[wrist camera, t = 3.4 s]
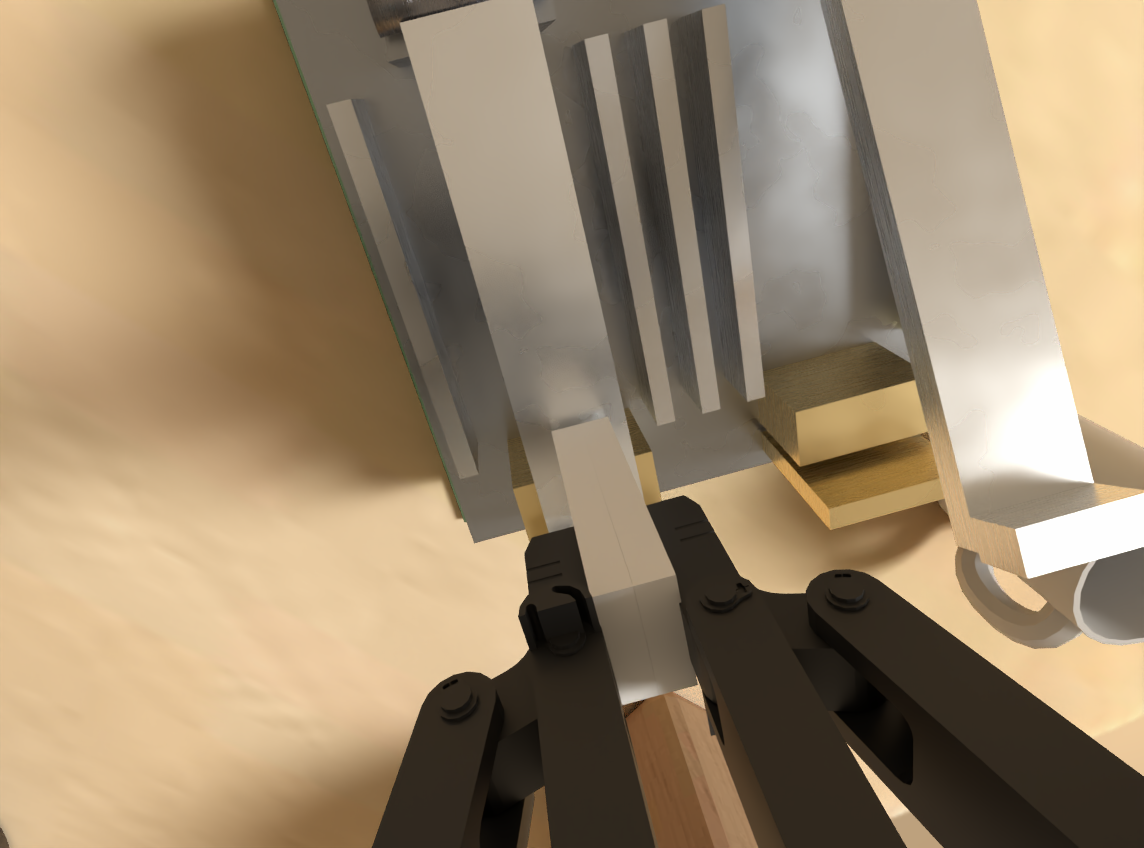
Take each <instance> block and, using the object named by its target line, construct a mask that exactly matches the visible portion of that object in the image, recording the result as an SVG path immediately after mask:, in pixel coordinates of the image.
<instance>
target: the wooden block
mask: <svg viewBox="0 0 1144 848" xmlns="http://www.w3.org/2000/svg"><path fill="white" fill-rule="evenodd" d="M626 722H627V725H628V729H629V733H630V737H631V741H632V745H633V749H634V752H635V756H636V760H637V764H638V768H639V772H640V776H641V780H642V784H643V788H644V792H645V796H646V800H647V804H648V808H649V812H650V816H651V820H652V824H653V828H654V832H655V836H656V840H657V843H658V847H659V848H758V846H757V843H756V840H755V838H754V835H753V832H752V830H751V827H750V824H749V822H748V819H747V817H746V814H745V811H744V809H743V806H742V803H741V801H740V798H739V795H738V793H737V790H736V787H735V785H734V782H733V780H732V777H731V774H730V772H729V769H728V766H727V764H726V761H725V758H724V756H723V753H722V750H721V748H720V745H719V743H718V740H717V737H716V735H713V736H711V734H710V729H709V724H708V718H707V713H706V710H705V709H703V708H701V707H699V706H697V705H696V704H694V703H692V702H690V701H688V700H686V699H685V698H683V697H681V696H679V695H677V694H675V693H674V692H669V693H666V694H662V695H658V696H654V697H651V698H647V699H646V700H645V701H644V702H643V703H642V704H640V705H639V706H638V707H637V708H636V709H635V710H634V711H633V712H632V713H631V714H630V715H629V716H628V717H627V718H626Z"/></svg>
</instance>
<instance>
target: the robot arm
mask: <svg viewBox="0 0 1144 848" xmlns="http://www.w3.org/2000/svg"><path fill="white" fill-rule="evenodd" d="M551 432H552V436H553V441H554V445H555V449H556V453H557V457H558V462H559V466H560V470H561V474H562V479H563V483H564V487H565V491H566V495H567V500H568V504H569V508H570V512H571V517H572V521H573V525H574V526H573V527H569V528H565V529H562V530H558V531H554V532H550V533H547V534H543V535H539V536H535V537H532V538H531V540H530V543H529V545H528V547H527V549H526V551H525V563H526V570H527V581H528V590H529V595H528V596H527V597H526V598H525V600H524V601H523V603H522V604H521V606H520V609H519V615H518V617H519V620H520V623H521V626H522V629H523V632H524V635H525V638H526V640H527V643H528V646H529V650H528V651H527V653H526V654H525V656H524V657H523V658H522V659H521V660H520V661H519V662H518V663H517V664H516V665H515V666H513V667H512V668H510V669H509V670H507V671H506V672H504V673H502V674H500V675H499V676H497V677H495V678H493V679H492V680H491V679H490V678H488V677H487V676H485V675H483V674H481V673H476V672H464V673H460V674H456V675H453V676H451V677H449V678H447V679H445V680H444V681H442V682H440V683H439V684H438V685H437V686H436V687H435V688H434V689H433V690H432V691H431V692H430V693H429V694H428V696H427V697H426V699H425V701H424V703H423V704H422V707H421V709H420V712H419V715H418V718H417V721H416V724H415V726H414V729H413V732H412V735H411V738H410V741H409V744H408V746H407V749H406V752H405V755H404V758H403V761H402V764H401V766H400V769H399V772H398V775H397V778H396V781H395V783H394V786H393V789H392V792H391V795H390V798H389V801H388V803H387V806H386V809H385V812H384V815H383V818H382V821H381V823H380V826H379V829H378V832H377V835H376V838H375V840H374V843H373V846H372V848H527V844H528V837H529V831H530V824H531V818H532V811H533V805H534V792H535V791H536V790H538V789H540V788H541V787H543V786H544V785H545V793H546V802H547V812H548V821H549V830H550V839H551V848H659V847H658V843H657V840H656V836H655V832H654V828H653V824H652V820H651V816H650V812H649V808H648V804H647V800H646V796H645V792H644V788H643V784H642V780H641V776H640V772H639V768H638V764H637V760H636V756H635V752H634V749H633V745H632V741H631V737H630V733H629V729H628V725H627V722H626V718H625V714H624V711H623V706H622V705H625V704H629V703H633V702H636V701H640V700H644V699H647V698H651V697H654V696H658V695H662V694H666V693H669V692H673V691H677V690H680V689H684V688H688V687H691V686H695V685H698V684H697V679H696V676H697V678H698V681H699V683H700V686H701V689H702V693H703V698H704V703H705V708H706V713H707V718H708V724H709V729H710V734H711V736H713V735H716V737H717V740H718V743H719V745H720V748H721V750H722V753H723V756H724V758H725V761H726V764H727V766H728V769H729V772H730V774H731V777H732V780H733V782H734V785H735V787H736V790H737V793H738V795H739V798H740V801H741V803H742V806H743V809H744V811H745V814H746V817H747V819H748V822H749V824H750V827H751V830H752V832H753V835H754V838H755V840H756V843H757V846H758V848H907V847H906V845H905V844H904V842H903V841H902V839H901V837H900V835H899V833H898V832H897V830H896V828H895V826H894V825H893V823H892V821H891V819H890V818H889V816H888V814H887V813H886V811H885V809H884V807H883V806H882V804H881V802H880V800H879V799H878V797H877V795H876V794H875V792H874V790H873V788H872V787H871V785H870V783H869V781H868V780H867V778H866V776H865V775H864V773H863V771H862V769H861V768H860V766H859V764H858V762H857V761H856V759H855V757H854V756H853V754H852V752H851V750H850V749H849V747H848V745H849V746H850V747H851V748H852V749H853V750H854V751H855V752H856V753H857V755H858V756H859V757H860V758H861V759H862V760H863V761H864V762H865V763H866V764H867V765H868V766H869V768H870V769H871V770H872V771H873V772H874V773H875V774H876V775H877V776H878V777H879V778H880V779H881V780H882V782H883V783H884V784H885V785H886V786H887V787H888V788H889V789H890V790H891V791H892V792H893V793H894V795H895V796H896V797H897V798H898V799H899V800H900V801H901V802H902V803H903V804H904V805H905V806H906V808H907V809H908V810H909V811H910V812H911V813H912V814H913V815H914V816H915V817H916V818H917V819H918V820H919V821H920V822H921V824H922V825H923V826H924V827H925V828H926V829H927V830H928V831H929V832H930V833H931V835H932V836H933V837H934V838H935V839H936V840H937V841H938V842H939V843H940V844H941V845H942V846H943V847H944V848H1144V776H1142V775H1141V774H1140V773H1138V772H1137V771H1136V770H1134V769H1133V768H1131V767H1130V766H1129V765H1127V764H1126V763H1124V762H1123V761H1122V760H1121V759H1119V758H1118V757H1117V756H1115V755H1114V754H1113V753H1111V752H1110V751H1109V750H1107V749H1106V748H1104V747H1103V746H1102V745H1100V744H1099V743H1098V742H1096V741H1095V740H1094V739H1092V738H1091V737H1090V736H1088V735H1087V734H1086V733H1084V732H1083V731H1082V730H1080V729H1079V728H1078V727H1076V726H1075V725H1073V724H1072V723H1071V722H1069V721H1068V720H1067V719H1065V718H1064V717H1063V716H1061V715H1060V714H1059V713H1057V712H1056V711H1055V710H1053V709H1052V708H1051V707H1049V706H1048V705H1046V704H1045V703H1044V702H1042V701H1041V700H1040V699H1038V698H1037V697H1036V696H1034V695H1033V694H1032V693H1030V692H1029V691H1028V690H1026V689H1025V688H1024V687H1022V686H1021V685H1019V684H1018V683H1017V682H1015V681H1014V680H1013V679H1011V678H1010V677H1009V676H1007V675H1006V674H1005V673H1003V672H1002V671H1001V670H999V669H998V668H997V667H995V666H994V665H992V664H991V663H990V662H988V661H987V660H986V659H984V658H983V657H982V656H980V655H979V654H978V653H976V652H975V651H974V650H972V649H971V648H970V647H968V646H967V645H965V644H964V643H963V642H961V641H960V640H959V639H957V638H956V637H955V636H953V635H952V634H951V633H949V632H948V631H947V630H945V629H944V628H943V627H941V626H940V625H938V624H937V623H936V622H934V621H933V620H932V619H930V618H929V617H928V616H926V615H925V614H924V613H922V612H921V611H920V610H918V609H917V608H916V607H914V606H913V605H911V604H910V603H909V602H907V601H906V600H905V599H903V598H902V597H901V596H899V595H898V594H897V593H895V592H894V591H893V590H891V589H890V588H889V587H887V586H886V585H884V584H883V583H882V582H880V581H879V580H878V579H876V578H874V577H872V576H870V575H868V574H866V573H863V572H859V571H854V570H832V571H829V572H826V573H822V574H820V575H819V576H817V577H816V578H814V579H813V580H812V581H811V582H810V584H809V586H808V588H807V590H806V593H801V594H779V593H770V592H766V591H761V590H759V589H757V588H756V587H755V586H754V585H753V584H752V583H751V582H750V581H749V580H747V579H744V578H742V577H741V576H740V575H739V574H738V572H737V570H736V568H735V567H734V565H733V563H732V561H731V560H730V558H729V556H728V554H727V552H726V551H725V549H724V547H723V545H722V544H721V542H720V540H719V538H718V537H717V535H716V533H715V532H714V529H713V528H712V526H711V524H710V522H708V519H707V517H706V515H705V514H704V512H703V510H702V508H701V507H700V505H699V504H697V503H696V502H694V501H692V500H691V499H689V498H688V497H686V496H684V495H683V496H679V497H675V498H672V499H668V500H664V501H660V502H657V503H653V504H649V505H646V504H645V502H644V500H643V497H642V495H641V493H640V490H639V488H638V486H637V483H636V481H635V479H634V476H633V474H632V472H631V469H630V467H629V465H628V462H627V460H626V458H625V456H624V453H623V451H622V449H621V446H620V444H619V442H618V439H617V437H616V435H615V432H614V430H613V428H612V425H611V423H610V421H609V418H608V417H604V418H600V419H597V420H593V421H589V422H585V423H582V424H578V425H574V426H570V427H566V428H563V429H559V430H555V431H551ZM695 673H696V674H695ZM847 744H848V745H847ZM0 848H9V845H8V842H7V839H6V837H5V835H4V833H3V831H2V829H1V828H0Z"/></svg>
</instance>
